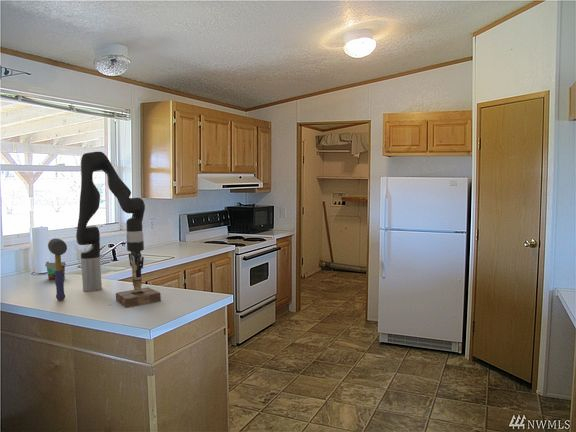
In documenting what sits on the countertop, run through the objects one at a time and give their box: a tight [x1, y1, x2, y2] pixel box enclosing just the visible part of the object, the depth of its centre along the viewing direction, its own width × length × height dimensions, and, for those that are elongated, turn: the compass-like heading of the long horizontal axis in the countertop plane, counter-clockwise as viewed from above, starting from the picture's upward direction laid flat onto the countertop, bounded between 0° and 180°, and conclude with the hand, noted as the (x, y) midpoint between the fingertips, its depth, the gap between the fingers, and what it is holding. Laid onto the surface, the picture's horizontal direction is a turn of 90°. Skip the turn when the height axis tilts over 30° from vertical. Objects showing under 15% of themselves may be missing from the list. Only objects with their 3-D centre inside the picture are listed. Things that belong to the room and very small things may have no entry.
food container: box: [45, 260, 67, 281], centre depth 275 cm, size 12×6×10 cm, turn 76°
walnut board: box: [115, 287, 162, 309], centre depth 223 cm, size 15×16×4 cm
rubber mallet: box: [47, 238, 68, 302], centre depth 226 cm, size 12×8×30 cm, turn 34°
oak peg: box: [131, 260, 143, 290], centre depth 222 cm, size 4×4×14 cm
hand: (137, 276), depth 222 cm, fingers closed on oak peg, 4 cm apart
